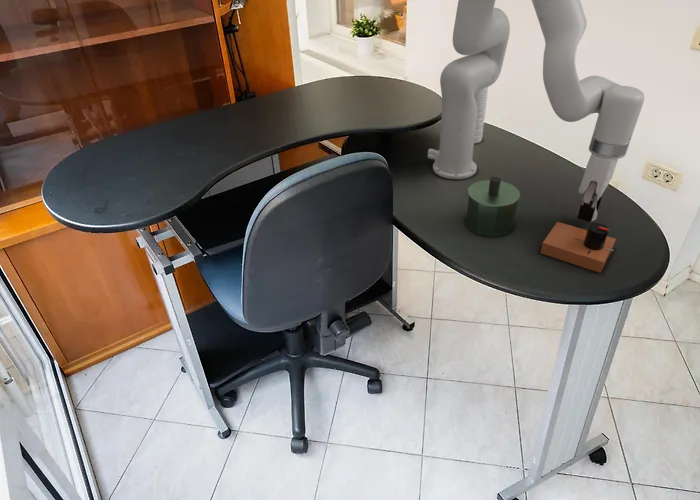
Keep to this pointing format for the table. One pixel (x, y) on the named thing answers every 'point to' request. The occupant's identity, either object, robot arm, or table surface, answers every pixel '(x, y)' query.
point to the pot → (490, 219)
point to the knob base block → (575, 247)
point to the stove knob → (596, 236)
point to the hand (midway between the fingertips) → (587, 214)
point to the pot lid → (493, 193)
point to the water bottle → (480, 113)
